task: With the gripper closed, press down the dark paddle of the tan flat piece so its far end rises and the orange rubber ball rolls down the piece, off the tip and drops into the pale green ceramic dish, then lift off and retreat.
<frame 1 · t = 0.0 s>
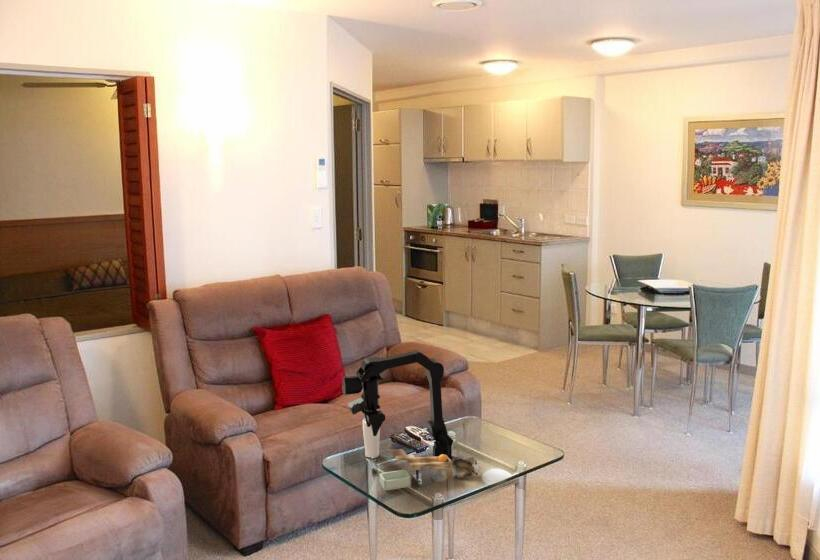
hand: (371, 431, 275), 15 cm above the table, fingers open, 9 cm apart
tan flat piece: (420, 458, 270), point 7 cm above the table, hinge at 6.0°, touching ball
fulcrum: (422, 480, 267), on the table
ball: (442, 458, 268), point 7 cm above the table, tilted 10°, touching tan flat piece
dish: (395, 484, 264), on the table
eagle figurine: (466, 476, 270), on the table
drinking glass: (372, 456, 288), on the table
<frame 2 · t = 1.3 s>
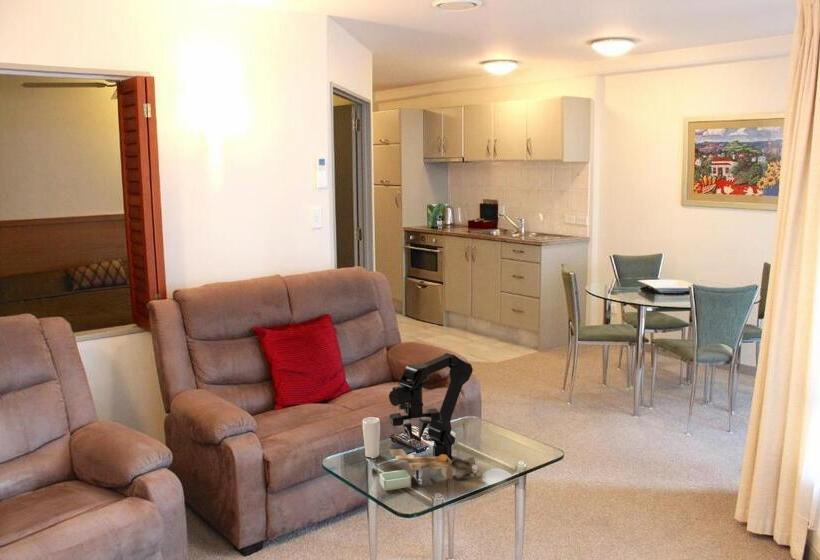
hand: (415, 438, 274), 12 cm above the table, fingers open, 3 cm apart
nothing on the table moved.
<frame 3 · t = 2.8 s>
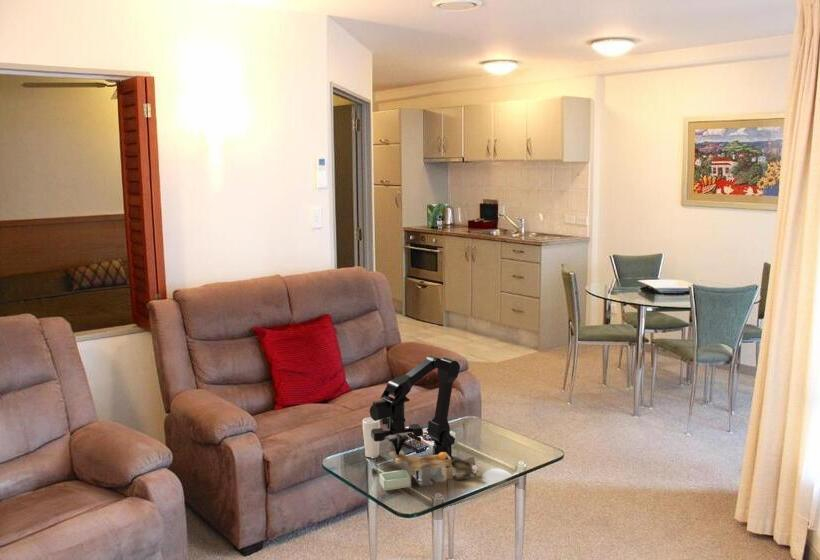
hand: (397, 454, 272), 8 cm above the table, fingers closed, pressing on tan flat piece
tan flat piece: (419, 458, 270), point 7 cm above the table, hinge at -0.1°, touching ball, gripper
ball: (442, 456, 268), point 8 cm above the table, touching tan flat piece
everything else where it was.
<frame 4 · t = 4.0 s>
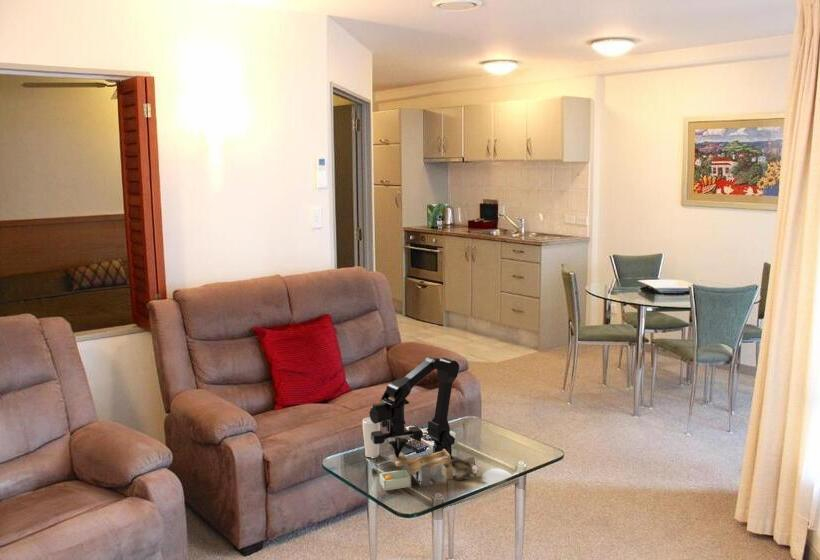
hand: (396, 456, 272), 7 cm above the table, fingers closed, pressing on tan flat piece
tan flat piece: (419, 458, 269), point 7 cm above the table, hinge at -8.2°, touching gripper
ball: (388, 479, 263), point 2 cm above the table, tilted 43°, touching dish
everything else where it was.
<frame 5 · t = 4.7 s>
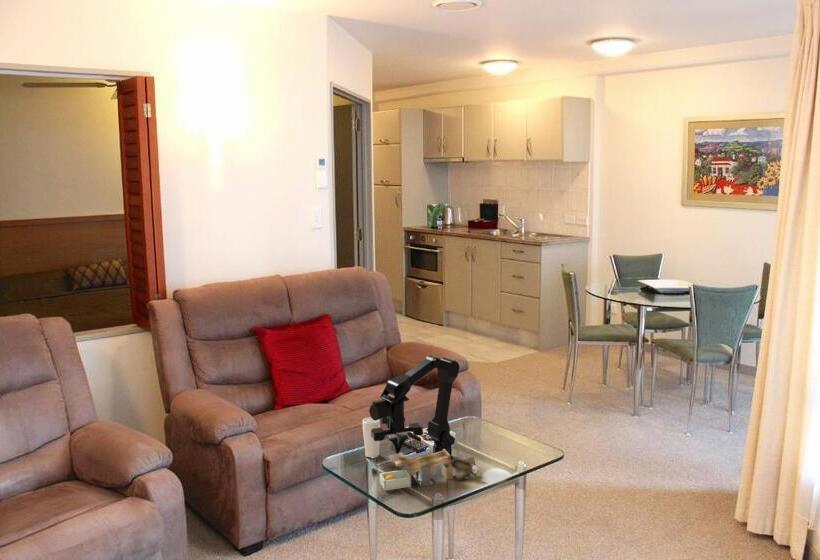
hand: (397, 453, 272), 8 cm above the table, fingers closed
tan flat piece: (419, 458, 269), point 7 cm above the table, hinge at -8.2°
ball: (389, 479, 263), point 2 cm above the table, tilted 28°, touching dish
everything else where it was.
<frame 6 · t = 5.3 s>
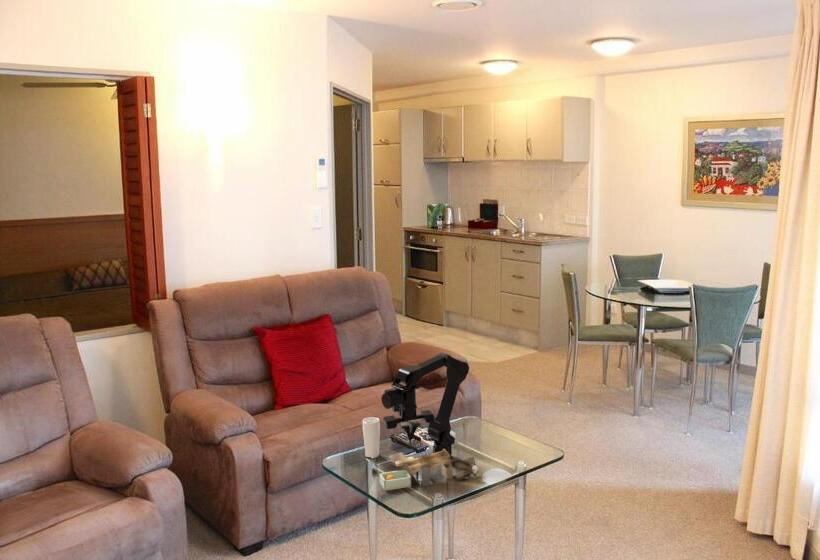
hand: (409, 440, 274), 11 cm above the table, fingers closed
ball: (390, 479, 263), point 2 cm above the table, tilted 16°, touching dish
everything else where it was.
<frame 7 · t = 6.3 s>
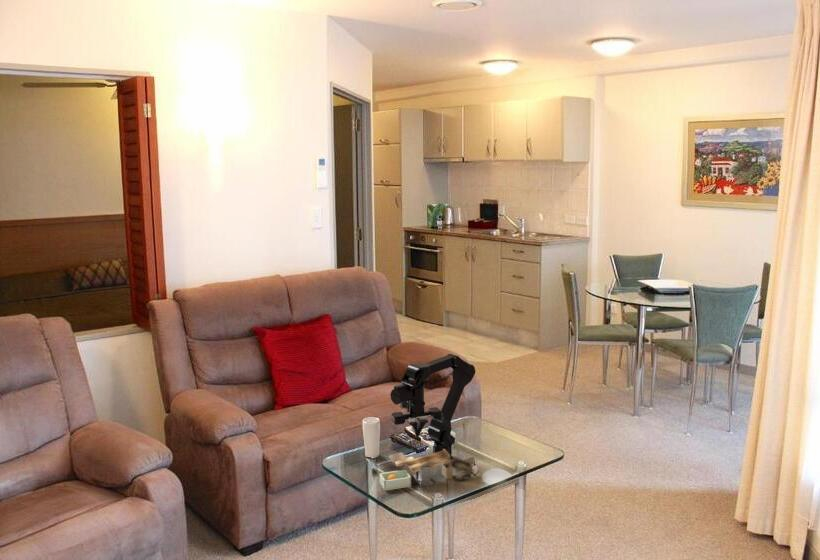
hand: (417, 437, 276), 12 cm above the table, fingers closed
ball: (392, 479, 263), point 2 cm above the table, touching dish
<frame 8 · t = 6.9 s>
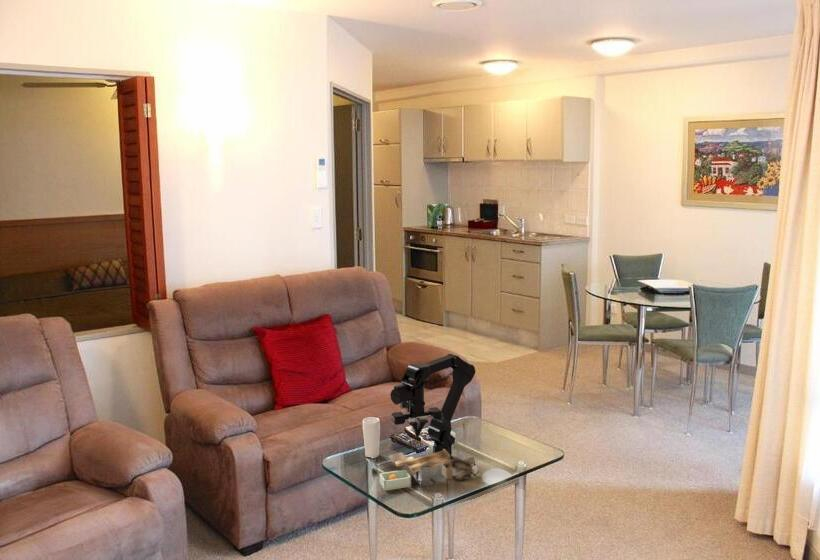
hand: (417, 437, 276), 12 cm above the table, fingers closed
ball: (393, 479, 263), point 2 cm above the table, tilted 17°, touching dish
at the end: ball inside the target area on the dish (0.8 cm from its centre), point 2.2 cm above the dish's base; ball moved 19.4 cm from its start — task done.
